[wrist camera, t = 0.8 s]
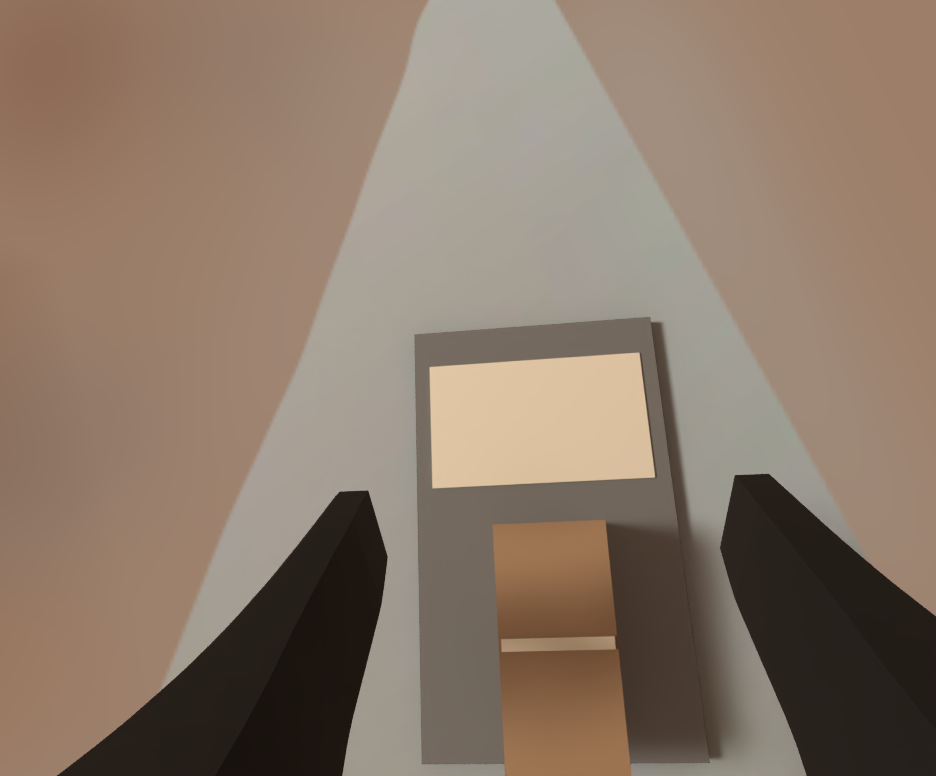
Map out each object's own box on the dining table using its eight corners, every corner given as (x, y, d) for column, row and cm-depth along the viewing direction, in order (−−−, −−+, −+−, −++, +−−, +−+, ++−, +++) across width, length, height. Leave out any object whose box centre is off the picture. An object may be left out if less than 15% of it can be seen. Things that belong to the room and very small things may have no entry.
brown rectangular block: (612, 733, 21) (632, 780, 17) (509, 734, 22) (505, 780, 18) (592, 521, 23) (605, 519, 19) (497, 525, 24) (492, 524, 20)
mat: (704, 756, 21) (710, 763, 21) (424, 757, 22) (421, 765, 22) (647, 321, 26) (650, 316, 25) (417, 338, 27) (414, 333, 26)
